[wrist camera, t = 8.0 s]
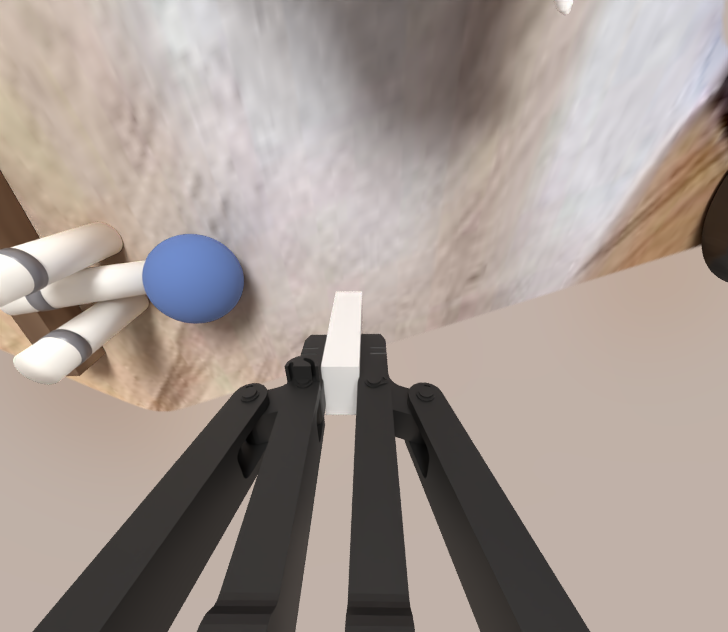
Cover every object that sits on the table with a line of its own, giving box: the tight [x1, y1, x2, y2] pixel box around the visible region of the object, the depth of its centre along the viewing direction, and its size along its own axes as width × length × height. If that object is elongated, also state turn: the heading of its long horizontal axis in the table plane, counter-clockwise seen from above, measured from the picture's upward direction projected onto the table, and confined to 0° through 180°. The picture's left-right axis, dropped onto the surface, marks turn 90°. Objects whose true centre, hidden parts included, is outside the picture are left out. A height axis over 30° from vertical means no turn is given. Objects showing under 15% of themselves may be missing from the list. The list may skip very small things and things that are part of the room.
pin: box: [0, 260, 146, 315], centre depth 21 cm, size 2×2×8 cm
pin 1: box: [0, 222, 123, 307], centre depth 18 cm, size 2×2×8 cm
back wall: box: [0, 171, 105, 376], centre depth 22 cm, size 2×16×3 cm, turn 0°
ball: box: [142, 234, 244, 323], centre depth 21 cm, size 6×6×6 cm
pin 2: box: [13, 294, 149, 385], centre depth 21 cm, size 2×2×8 cm
